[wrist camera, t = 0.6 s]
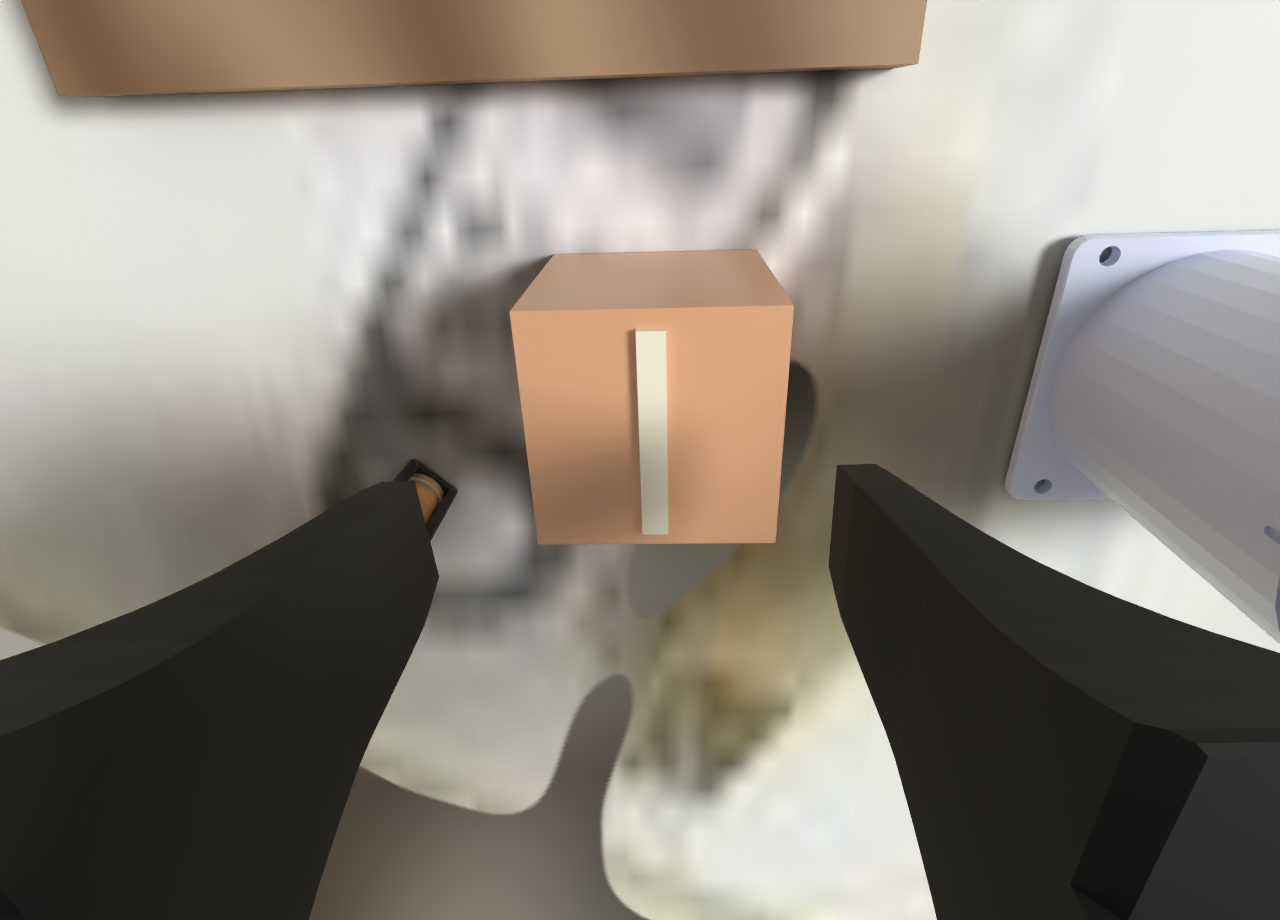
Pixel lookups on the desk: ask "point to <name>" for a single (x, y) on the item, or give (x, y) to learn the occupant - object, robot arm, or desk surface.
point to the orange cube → (654, 396)
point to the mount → (452, 41)
